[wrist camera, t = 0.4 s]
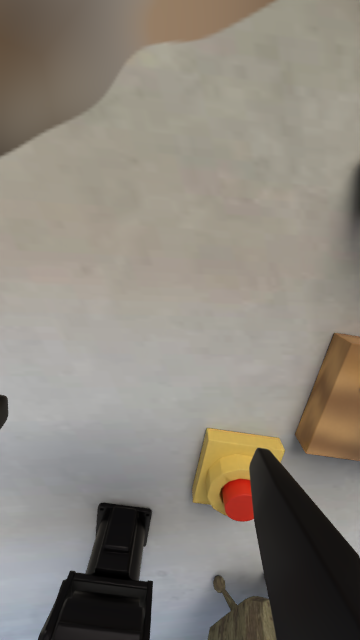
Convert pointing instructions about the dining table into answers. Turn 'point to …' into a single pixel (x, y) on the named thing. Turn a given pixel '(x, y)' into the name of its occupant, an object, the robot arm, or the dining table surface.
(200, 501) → the button box
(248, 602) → the tabletop clock
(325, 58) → the dining table surface
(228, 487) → the button
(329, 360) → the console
